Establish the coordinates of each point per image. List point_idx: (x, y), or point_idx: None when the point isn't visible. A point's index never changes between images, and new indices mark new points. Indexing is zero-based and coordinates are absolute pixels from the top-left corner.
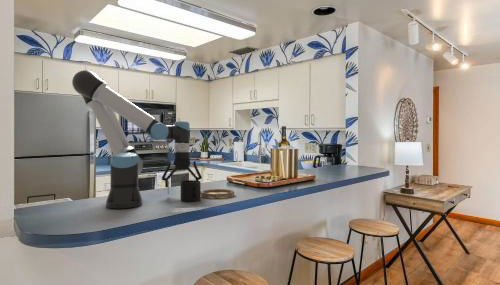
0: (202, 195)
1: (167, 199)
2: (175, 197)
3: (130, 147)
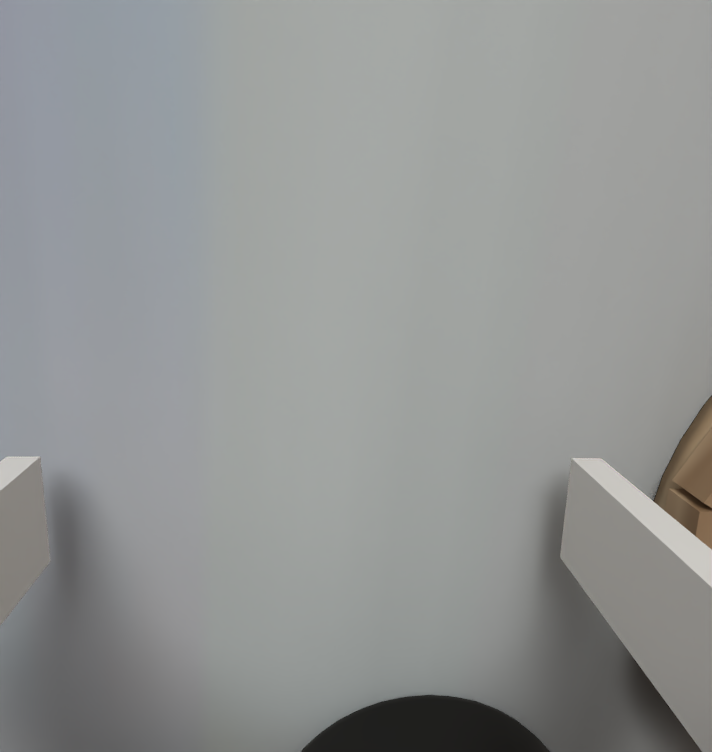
0: None
1: (59, 685)
2: (193, 536)
3: None
